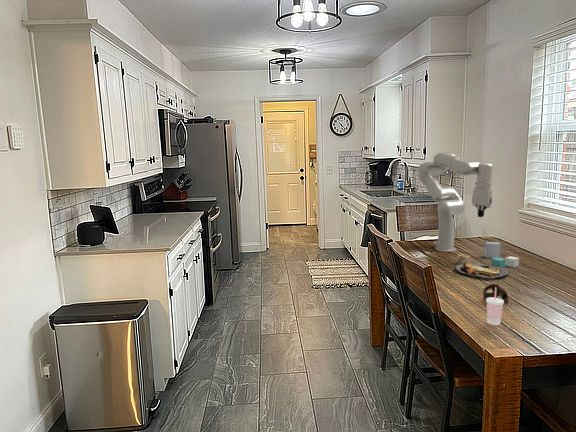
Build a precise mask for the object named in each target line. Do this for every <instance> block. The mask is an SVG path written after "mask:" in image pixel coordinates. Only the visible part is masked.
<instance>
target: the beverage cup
mask: <svg viewBox="0 0 576 432" xmlns="http://www.w3.org/2000/svg"><path fill="white" fill-rule="evenodd" d="M496 288H497V287H495V298H494V297H489V298H487V299H486V298H485V300H486V323H488V324H489V325H492V326H499V325H501V321H502V315H503V306H504V304H505V301H504V300H505V299H502V298H499V297H497V298H496Z"/></svg>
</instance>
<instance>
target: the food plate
mask: <svg viewBox="0 0 576 432" xmlns="http://www.w3.org/2000/svg"><path fill="white" fill-rule="evenodd" d="M454 269H455V270H456V272H458V273H459V272H460V273H461V274H466V275H467V276H469V277H471V278H479V279H481V278H483V279H484V278H485V279H494V278H501V277H504V276H506V275H508V274H509V272H508V270H506V269H505V268H500V267H496V266H494V265H491V264H488V263H478V262H477V263H474V262H470V263H469V262H465V263H464V264H457V265H455V266H454ZM477 272H478V273H477ZM477 275H479V276H477ZM489 276H490V277H489Z"/></svg>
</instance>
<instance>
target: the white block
mask: <svg viewBox="0 0 576 432" xmlns="http://www.w3.org/2000/svg"><path fill="white" fill-rule="evenodd" d="M504 259H505V267H511V268H517V267H519V266H520V257H516V256H511V255H510V256H506V257H505V258H504Z"/></svg>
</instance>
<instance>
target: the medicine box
mask: <svg viewBox="0 0 576 432" xmlns="http://www.w3.org/2000/svg"><path fill="white" fill-rule="evenodd" d="M501 248H502V244H501V243H500V242H492V241H491V242H490V241H489V242H484V247H483V250H484V251H483V257H484V258H486V259H493V258H496V257H497V258H501V250H502V249H501Z"/></svg>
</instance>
